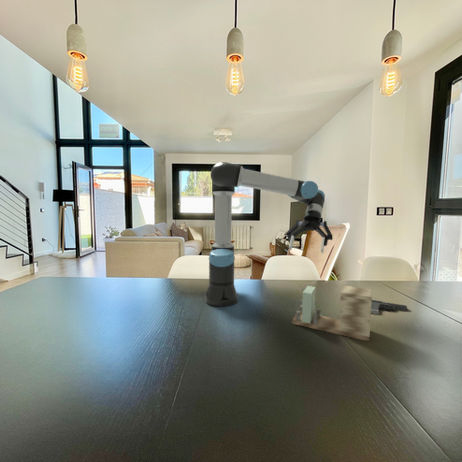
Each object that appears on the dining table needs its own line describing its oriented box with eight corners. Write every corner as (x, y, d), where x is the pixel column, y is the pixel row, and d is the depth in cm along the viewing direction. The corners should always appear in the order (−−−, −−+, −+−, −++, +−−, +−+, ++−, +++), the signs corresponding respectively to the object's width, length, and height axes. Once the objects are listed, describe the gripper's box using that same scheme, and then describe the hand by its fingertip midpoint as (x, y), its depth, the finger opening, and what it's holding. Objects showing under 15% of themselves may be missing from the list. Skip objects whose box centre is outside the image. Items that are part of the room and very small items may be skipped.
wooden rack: (292, 323, 89) (293, 285, 88) (297, 314, 97) (298, 279, 96) (369, 341, 77) (371, 297, 76) (368, 329, 85) (370, 289, 84)
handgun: (416, 316, 94) (405, 303, 105) (365, 308, 100) (361, 296, 111) (415, 323, 94) (404, 309, 105) (365, 314, 100) (360, 302, 111)
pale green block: (298, 321, 88) (299, 291, 87) (303, 312, 96) (304, 285, 95) (310, 323, 86) (311, 293, 85) (314, 314, 94) (315, 287, 93)
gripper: (341, 221, 113) (336, 257, 101) (289, 219, 125) (279, 252, 113) (341, 209, 108) (336, 246, 96) (286, 209, 120) (276, 241, 108)
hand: (305, 249), depth 104 cm, fingers open, 13 cm apart
